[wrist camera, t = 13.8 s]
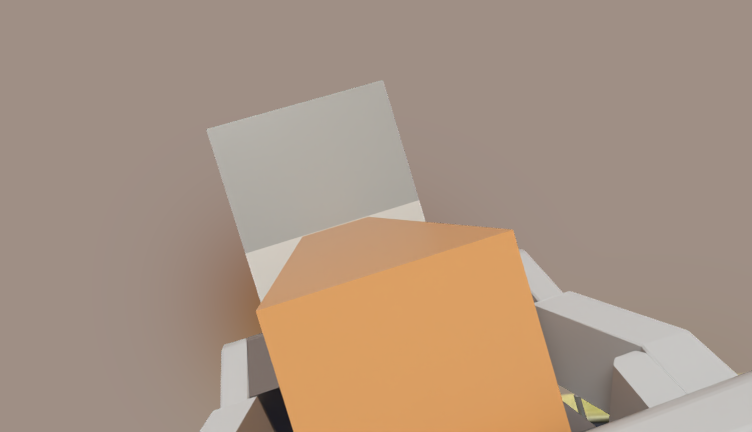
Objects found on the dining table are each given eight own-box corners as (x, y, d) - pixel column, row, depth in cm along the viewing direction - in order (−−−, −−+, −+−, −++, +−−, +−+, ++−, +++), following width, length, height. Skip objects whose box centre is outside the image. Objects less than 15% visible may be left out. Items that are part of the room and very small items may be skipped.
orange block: (347, 606, 7) (255, 310, 7) (325, 311, 27) (302, 236, 26) (594, 511, 7) (512, 229, 7) (390, 290, 27) (367, 216, 27)
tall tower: (358, 612, 29) (206, 129, 28) (346, 495, 41) (239, 154, 40) (523, 547, 30) (382, 79, 29) (464, 452, 42) (363, 118, 41)
